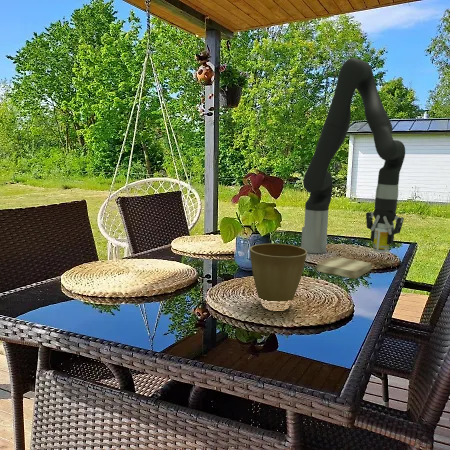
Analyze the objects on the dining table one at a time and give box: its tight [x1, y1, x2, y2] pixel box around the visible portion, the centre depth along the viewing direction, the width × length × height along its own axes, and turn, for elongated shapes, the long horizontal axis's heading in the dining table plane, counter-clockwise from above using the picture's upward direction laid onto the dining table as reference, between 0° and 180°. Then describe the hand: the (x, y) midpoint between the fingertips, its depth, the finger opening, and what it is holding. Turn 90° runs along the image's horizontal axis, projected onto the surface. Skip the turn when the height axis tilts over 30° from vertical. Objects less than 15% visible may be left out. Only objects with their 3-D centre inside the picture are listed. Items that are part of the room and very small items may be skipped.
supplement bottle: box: [372, 223, 390, 253], centre depth 168 cm, size 6×6×10 cm
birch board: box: [316, 256, 373, 280], centre depth 160 cm, size 14×14×2 cm
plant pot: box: [249, 243, 308, 301], centre depth 122 cm, size 15×15×16 cm
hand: (381, 242), depth 168 cm, fingers closed on supplement bottle, 5 cm apart
